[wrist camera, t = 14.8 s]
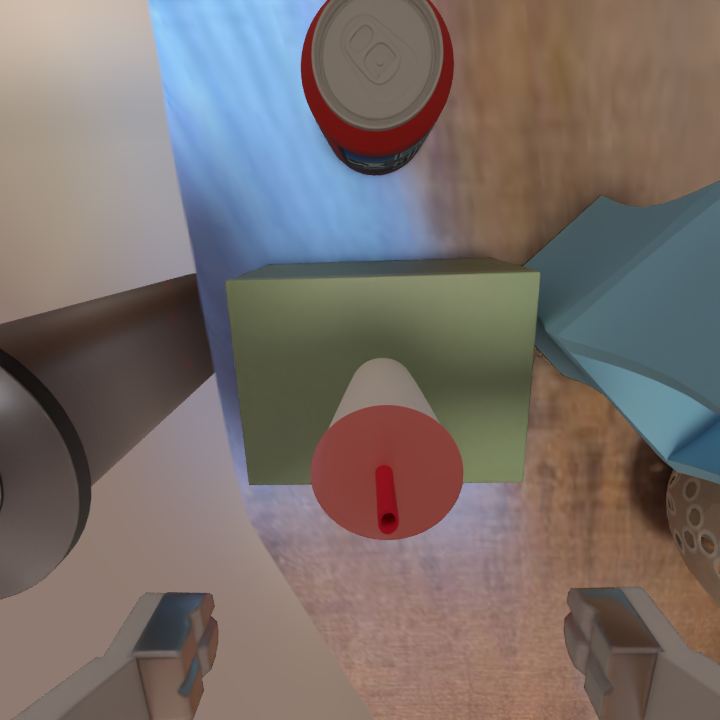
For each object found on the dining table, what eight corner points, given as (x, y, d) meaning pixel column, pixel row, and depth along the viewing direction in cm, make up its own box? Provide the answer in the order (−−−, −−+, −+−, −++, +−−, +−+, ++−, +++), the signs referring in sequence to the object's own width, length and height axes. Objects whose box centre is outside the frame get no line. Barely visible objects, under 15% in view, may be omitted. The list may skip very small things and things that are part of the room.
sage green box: (282, 415, 36) (248, 485, 26) (268, 264, 32) (224, 280, 23) (482, 412, 35) (523, 482, 26) (491, 257, 32) (541, 271, 22)
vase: (489, 295, 32) (810, 493, 9) (601, 194, 30) (1464, 74, 6) (572, 386, 34) (1030, 760, 10) (684, 297, 32) (1599, 509, 8)
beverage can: (374, 198, 31) (374, 183, 19) (304, 121, 29) (259, 55, 18) (448, 122, 29) (496, 56, 18) (377, 37, 28) (379, -93, 16)
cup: (370, 320, 23) (365, 413, 12) (452, 376, 24) (524, 516, 12) (314, 398, 24) (261, 552, 13) (393, 449, 25) (409, 637, 14)
